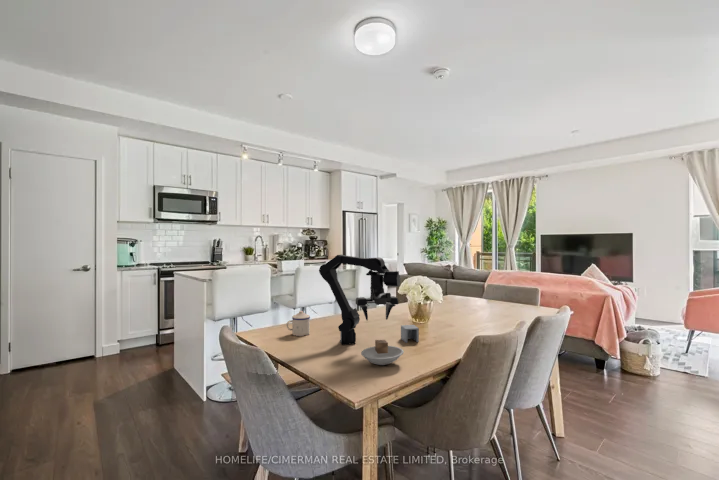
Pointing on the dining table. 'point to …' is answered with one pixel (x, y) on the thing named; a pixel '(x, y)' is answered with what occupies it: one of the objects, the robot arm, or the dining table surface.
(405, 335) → the grey cover
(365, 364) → the dining table surface
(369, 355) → the dish
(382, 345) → the walnut block
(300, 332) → the teacup with lid
